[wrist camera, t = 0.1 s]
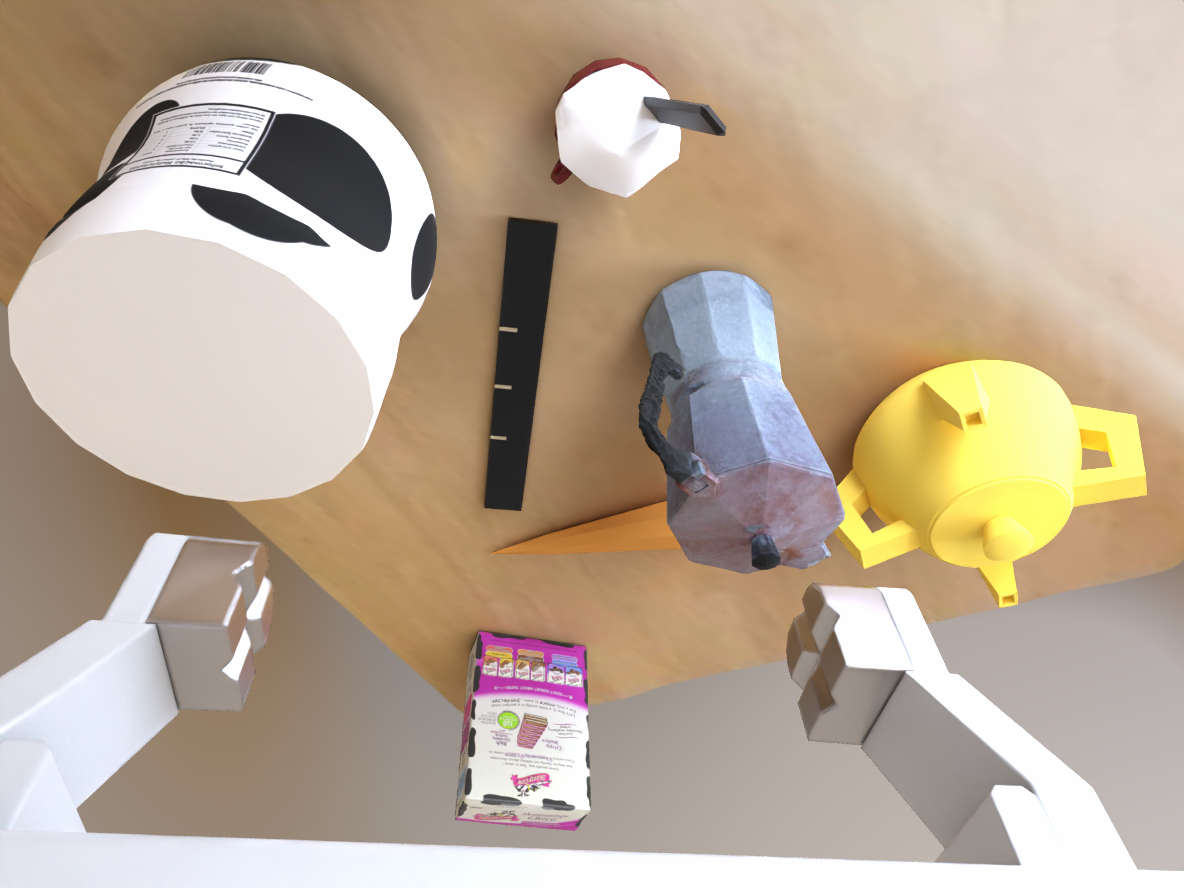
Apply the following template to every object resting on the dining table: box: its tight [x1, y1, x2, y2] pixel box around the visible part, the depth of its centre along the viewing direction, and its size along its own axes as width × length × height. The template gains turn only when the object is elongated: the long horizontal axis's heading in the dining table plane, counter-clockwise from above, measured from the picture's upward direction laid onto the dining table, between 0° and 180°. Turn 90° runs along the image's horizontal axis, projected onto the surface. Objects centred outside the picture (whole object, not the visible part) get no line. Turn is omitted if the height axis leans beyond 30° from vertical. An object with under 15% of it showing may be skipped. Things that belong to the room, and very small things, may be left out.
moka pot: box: [639, 271, 845, 574], centre depth 49 cm, size 10×15×20 cm, turn 50°
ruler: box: [484, 218, 558, 511], centre depth 59 cm, size 26×3×1 cm, turn 172°
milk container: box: [8, 58, 437, 502], centre depth 43 cm, size 17×17×18 cm
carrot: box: [490, 501, 681, 554], centre depth 69 cm, size 20×4×4 cm, turn 109°
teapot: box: [833, 360, 1147, 608], centre depth 59 cm, size 17×17×12 cm
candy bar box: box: [455, 631, 591, 831], centre depth 77 cm, size 11×5×16 cm, turn 73°
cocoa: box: [551, 58, 726, 198], centre depth 42 cm, size 10×6×12 cm, turn 111°
